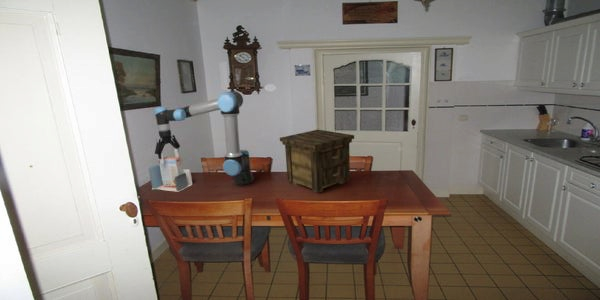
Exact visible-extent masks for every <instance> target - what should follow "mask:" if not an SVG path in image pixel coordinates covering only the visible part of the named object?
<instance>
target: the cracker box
mask: <svg viewBox="0 0 600 300" xmlns="http://www.w3.org/2000/svg"><path fill="white" fill-rule="evenodd" d="M163 159H164V163H160V159H159V158H158V164H160V170H161V176H162V181H163V187H175V188H176V183H175V177H176V176H178V175H180V174H183V170H182V169H183V164H182V159H181V156H179V157H175V156H163Z"/></svg>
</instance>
